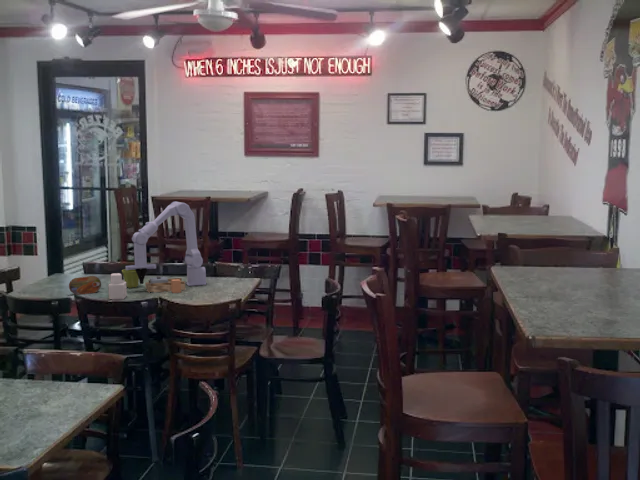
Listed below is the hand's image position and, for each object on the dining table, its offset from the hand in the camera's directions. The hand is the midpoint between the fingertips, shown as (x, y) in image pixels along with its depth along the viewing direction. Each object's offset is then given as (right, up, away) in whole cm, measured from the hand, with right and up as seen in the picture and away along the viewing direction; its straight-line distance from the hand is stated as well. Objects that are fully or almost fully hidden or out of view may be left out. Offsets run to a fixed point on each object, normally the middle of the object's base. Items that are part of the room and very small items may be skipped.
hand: (141, 283), depth 351 cm
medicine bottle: (-7, -6, -15) cm, 18 cm away
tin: (-27, -5, -4) cm, 27 cm away
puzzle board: (+11, -3, +4) cm, 12 cm away
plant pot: (-8, -3, +11) cm, 14 cm away
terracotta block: (+18, -4, -2) cm, 18 cm away
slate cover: (+8, 0, +3) cm, 9 cm away
